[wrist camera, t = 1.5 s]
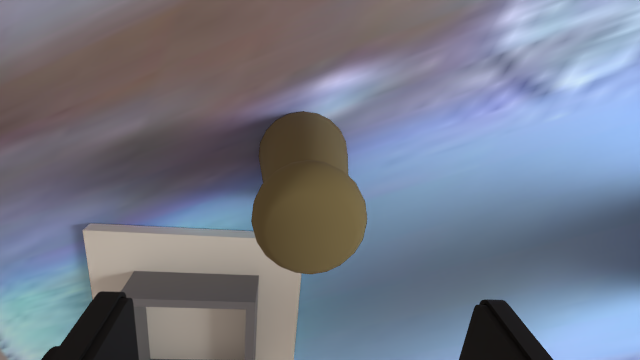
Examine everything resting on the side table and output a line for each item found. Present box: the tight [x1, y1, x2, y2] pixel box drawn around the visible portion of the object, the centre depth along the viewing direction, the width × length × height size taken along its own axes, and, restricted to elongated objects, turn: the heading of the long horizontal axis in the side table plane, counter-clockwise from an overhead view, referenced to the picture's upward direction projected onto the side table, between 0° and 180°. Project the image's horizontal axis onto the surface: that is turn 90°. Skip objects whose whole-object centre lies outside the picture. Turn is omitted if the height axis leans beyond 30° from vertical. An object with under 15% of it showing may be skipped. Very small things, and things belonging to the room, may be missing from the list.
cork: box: [251, 111, 367, 274], centre depth 21 cm, size 6×6×11 cm
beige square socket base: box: [83, 223, 301, 360], centre depth 28 cm, size 15×15×4 cm
